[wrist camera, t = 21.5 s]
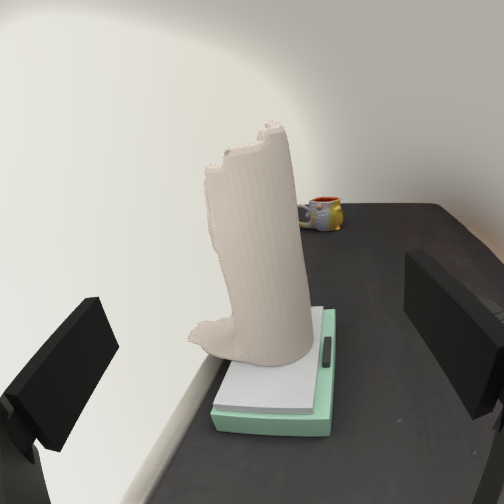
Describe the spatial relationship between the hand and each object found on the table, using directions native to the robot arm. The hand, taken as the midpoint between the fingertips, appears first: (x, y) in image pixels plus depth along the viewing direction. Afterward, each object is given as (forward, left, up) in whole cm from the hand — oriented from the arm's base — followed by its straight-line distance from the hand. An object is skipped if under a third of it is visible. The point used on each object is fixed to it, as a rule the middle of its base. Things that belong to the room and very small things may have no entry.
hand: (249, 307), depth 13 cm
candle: (+16, 0, -13) cm, 20 cm away
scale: (+13, -3, -16) cm, 21 cm away
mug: (+56, -21, -16) cm, 62 cm away
